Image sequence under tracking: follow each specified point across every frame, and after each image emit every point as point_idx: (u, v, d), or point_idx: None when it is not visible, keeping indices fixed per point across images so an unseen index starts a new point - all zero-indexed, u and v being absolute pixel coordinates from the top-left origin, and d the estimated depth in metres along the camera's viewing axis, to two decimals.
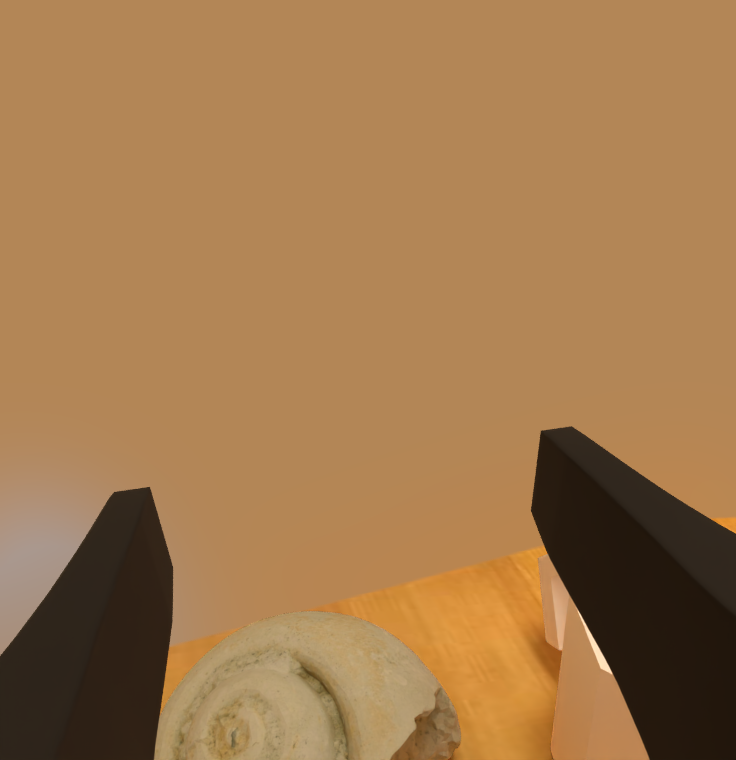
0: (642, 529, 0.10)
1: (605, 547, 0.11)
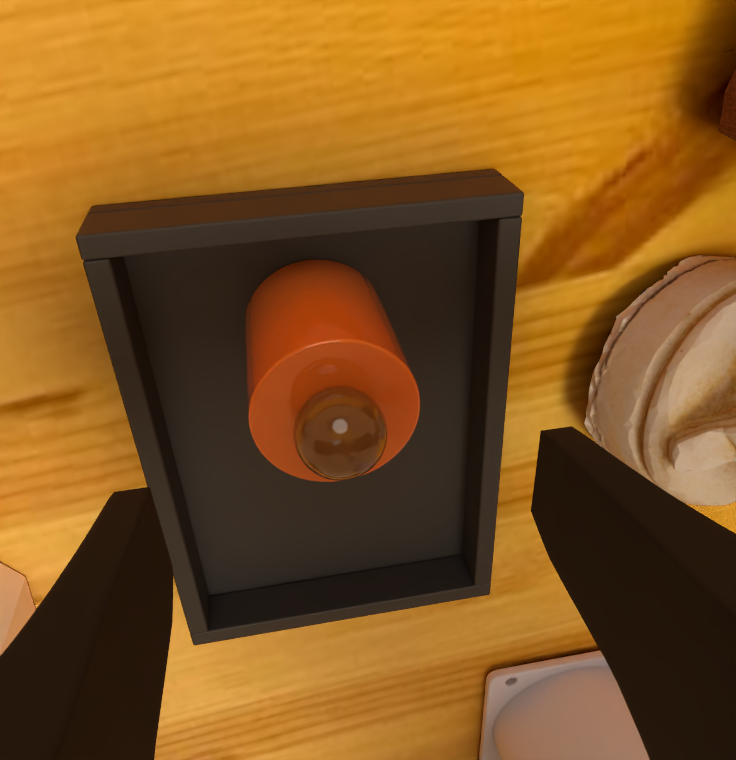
0: (642, 529, 0.10)
1: (605, 547, 0.11)
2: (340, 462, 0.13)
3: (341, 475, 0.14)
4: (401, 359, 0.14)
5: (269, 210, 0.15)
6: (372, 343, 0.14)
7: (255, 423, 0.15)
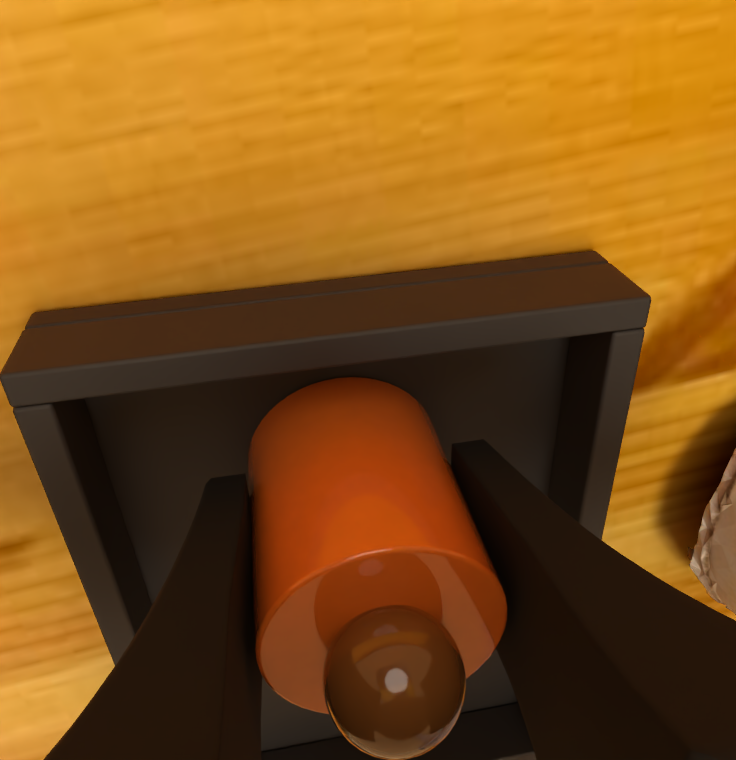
0: (528, 548, 0.09)
1: (502, 564, 0.10)
2: (399, 747, 0.09)
3: (399, 759, 0.09)
4: (485, 565, 0.10)
5: (286, 327, 0.11)
6: (443, 548, 0.09)
7: (265, 658, 0.10)
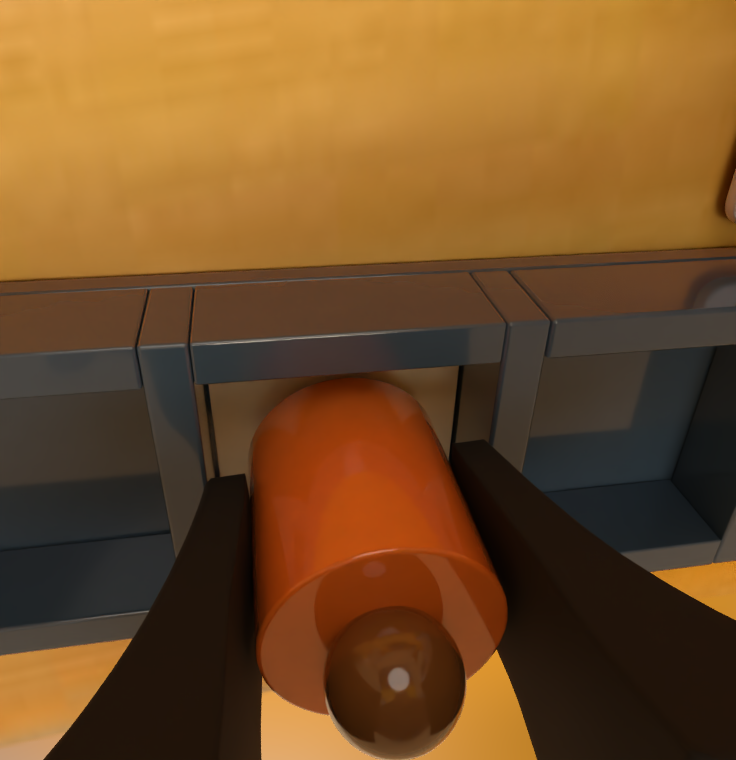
0: (528, 548, 0.09)
1: (503, 564, 0.10)
2: (399, 748, 0.09)
3: None
4: (486, 565, 0.10)
5: None
6: (445, 549, 0.09)
7: (266, 660, 0.10)
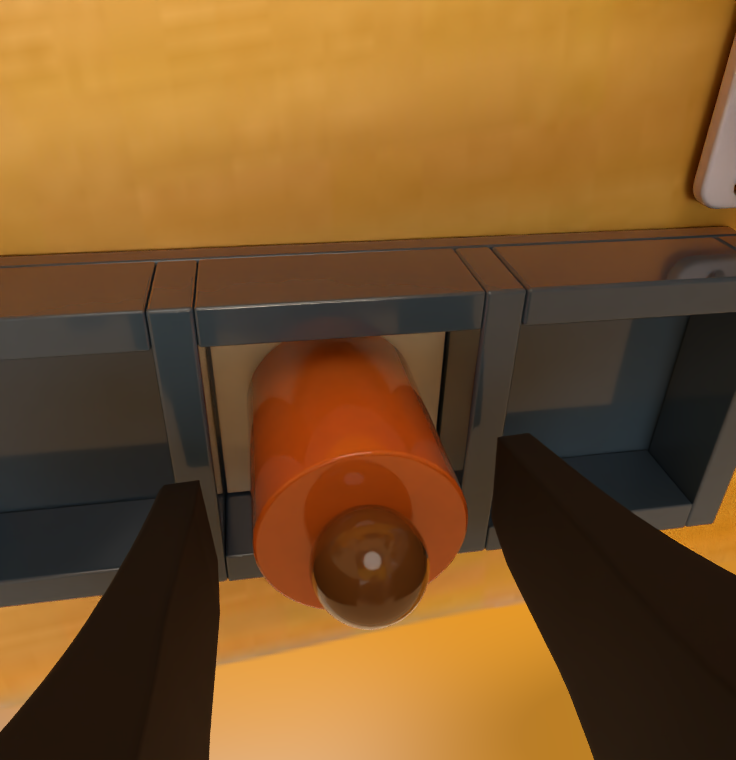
0: (586, 538, 0.09)
1: (555, 555, 0.11)
2: (371, 614, 0.10)
3: (372, 627, 0.11)
4: (447, 471, 0.11)
5: None
6: (411, 454, 0.11)
7: (261, 550, 0.11)
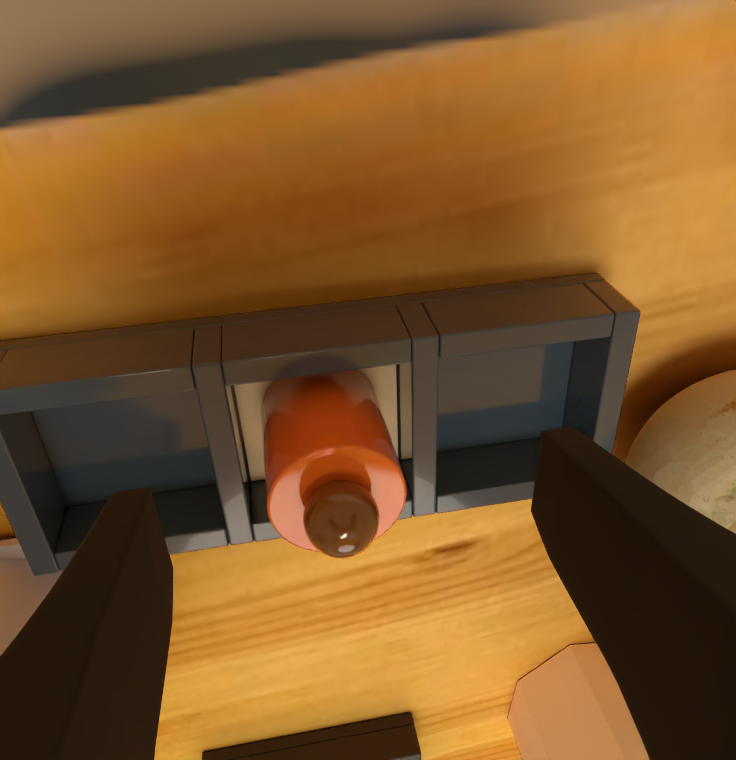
0: (642, 529, 0.10)
1: (605, 547, 0.11)
2: (351, 544, 0.17)
3: (349, 531, 0.17)
4: (289, 541, 0.19)
5: None
6: (315, 550, 0.19)
7: (402, 492, 0.18)
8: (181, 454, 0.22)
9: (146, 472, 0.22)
